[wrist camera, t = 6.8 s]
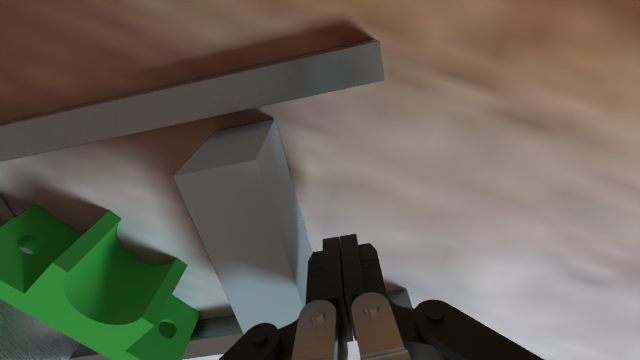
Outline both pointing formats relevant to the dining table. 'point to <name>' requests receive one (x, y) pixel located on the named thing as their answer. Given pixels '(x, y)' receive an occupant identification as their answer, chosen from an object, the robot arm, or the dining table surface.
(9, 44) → the dining table surface
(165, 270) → the pipe clamp
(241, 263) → the block
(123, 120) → the vise
